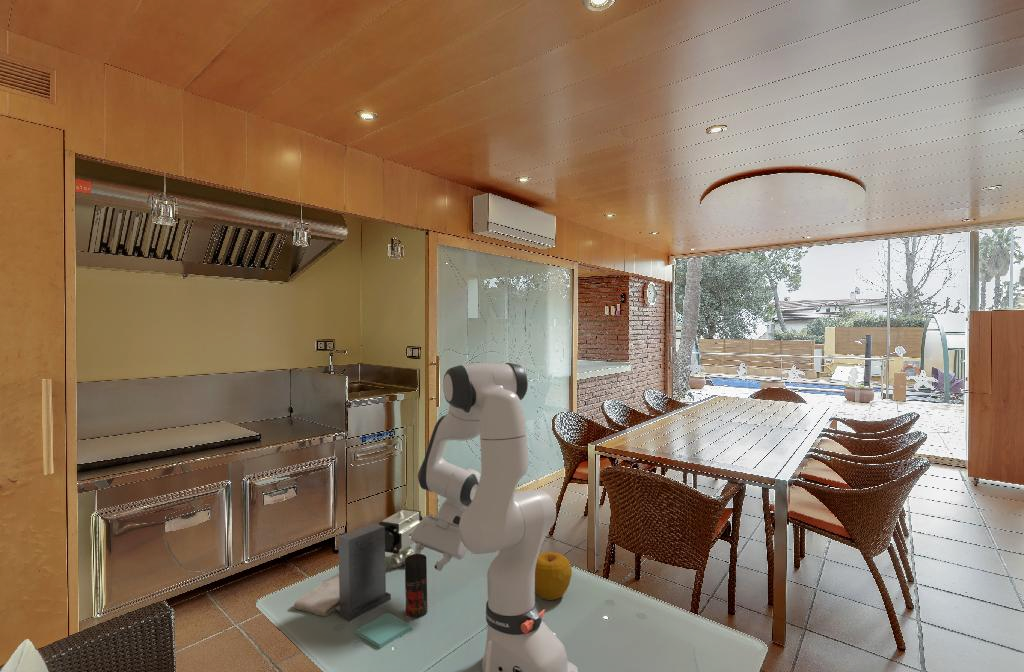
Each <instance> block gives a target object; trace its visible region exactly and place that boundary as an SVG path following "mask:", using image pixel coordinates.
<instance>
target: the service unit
mask: <svg viewBox="0 0 1024 672" xmlns="http://www.w3.org/2000/svg"><path fill="white" fill-rule="evenodd" d="M337 537H338V540H337V541H338V576H339V598H340V605H339V606H337V607H335V608H334V614H335V615H337V616H338V617H340V618H342V619H343V620H344V621H347V622H349V623H350V622H351V621H354V620H355V619H358V618H359V617H361V616H363V615H364V614H367V613H368V612H370V611H372V610H374V609H376V608H378V607H380V606H382V605H383V604H385V603H387V602H389V601H390V600H392V594H391V593H389V592H387V590H386V589H387V588H386V587H387V584H386V583H387V581H386V552H385V526H382V525H379V524H378V523H376V522H373V523H370V524H368V525H364V526H362V527H359V528H356V529H354V530H351V531H349V532H346V533H343V534H340V535H338V536H337Z"/></svg>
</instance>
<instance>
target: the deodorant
mask: <svg viewBox="0 0 1024 672" xmlns="http://www.w3.org/2000/svg"><path fill="white" fill-rule="evenodd" d="M427 564H428V563H427V556H426V555H425V554H421V553H420V554H413V555H410V556H408V557H406V558H405V565H404V577H405V578H404V583H405V584H404V585H405V588H404V590H405V591H404V592H405V615H406V617H407V618H409V619H420V618H423V617H424V616H426V615H427V614H428V581H427V580H428V571H427V569H428V568H427V567H428V565H427Z"/></svg>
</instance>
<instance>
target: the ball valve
mask: <svg viewBox="0 0 1024 672" xmlns="http://www.w3.org/2000/svg"><path fill="white" fill-rule="evenodd" d="M423 518H424V517H423V516H422V515H421V510H415V509H408V508H407V509H406V508H403V509H401V510H399V511H397V512H396V513H393V514H392V515H390V516H388V517H386V518H384V519H383V520H381V521H379V525H382V526H385V553H390V554H391V555H390V557H389V559H388V563H389V566H390V568H393V569H395V568H399V567H401V566H405V558H406V557H408V556H410V555H413V554H415V550H414V549H413V547H412V545H413V544H414V543H415V542H414V541H412V540H411V535H412V533H413V531H414V530H415V528H416V527H417V525H418V524H419V523H420V522H421V520H422V519H423Z"/></svg>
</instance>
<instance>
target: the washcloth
mask: <svg viewBox="0 0 1024 672" xmlns="http://www.w3.org/2000/svg"><path fill="white" fill-rule="evenodd" d="M339 605H340V598H339V575H337V576H334V577H333V578H331V579H329V580H327V581H326V580H325V581H323V582H322V583H320V584H318V586H316V587H314V588H312V589H311V590H309V591H308V592H306V593H305V594H304V595H302V596H300V597H299V598H297V600H296V601H295V602H294V604H293V608H295V609H297V610H300V611H303V610H304V611H303V612H308V613H311V612H312V613H314V614H313V615H317V616H321V615H322V616H321V617H327V616H328V615H329V613H330V614H331V613H333V612H335V610H334V608H335V607H337V606H339ZM312 613H311V614H312Z"/></svg>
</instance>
